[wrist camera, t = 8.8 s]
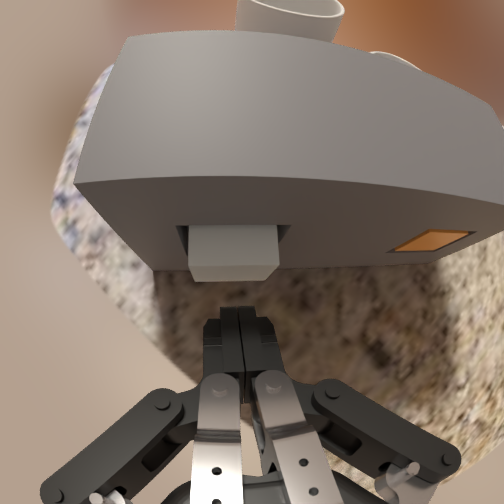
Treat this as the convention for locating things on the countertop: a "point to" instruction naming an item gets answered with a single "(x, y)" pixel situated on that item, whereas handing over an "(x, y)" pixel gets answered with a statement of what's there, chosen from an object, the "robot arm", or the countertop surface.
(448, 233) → the orange button
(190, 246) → the white cube
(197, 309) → the countertop surface
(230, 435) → the robot arm
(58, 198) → the countertop surface
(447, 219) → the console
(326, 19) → the mug
